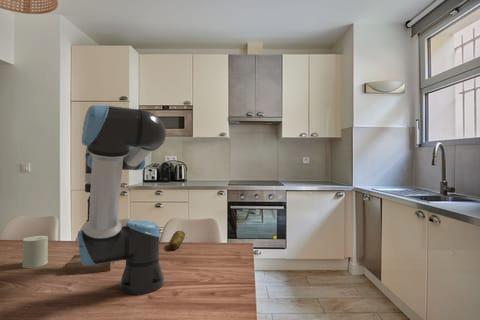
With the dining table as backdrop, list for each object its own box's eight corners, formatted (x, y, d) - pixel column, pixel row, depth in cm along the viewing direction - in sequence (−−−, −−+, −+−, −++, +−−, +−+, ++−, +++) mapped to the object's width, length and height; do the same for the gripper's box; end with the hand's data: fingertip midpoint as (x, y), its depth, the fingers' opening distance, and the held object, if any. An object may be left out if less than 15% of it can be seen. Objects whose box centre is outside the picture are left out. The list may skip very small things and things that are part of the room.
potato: (162, 249, 148) (162, 233, 148) (177, 243, 160) (178, 229, 160) (174, 251, 144) (174, 235, 144) (189, 245, 156) (190, 230, 156)
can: (34, 269, 119) (35, 240, 119) (16, 267, 121) (17, 239, 121) (53, 261, 128) (53, 235, 128) (36, 260, 130) (36, 233, 130)
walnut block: (110, 271, 118) (110, 259, 118) (66, 275, 114) (67, 263, 114) (116, 259, 133) (116, 248, 133) (78, 262, 129) (78, 251, 129)
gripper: (99, 184, 116) (98, 241, 116) (108, 181, 134) (107, 230, 134) (79, 184, 114) (78, 242, 114) (90, 181, 132) (89, 231, 132)
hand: (93, 236), depth 124 cm, fingers closed on sage block, 5 cm apart
